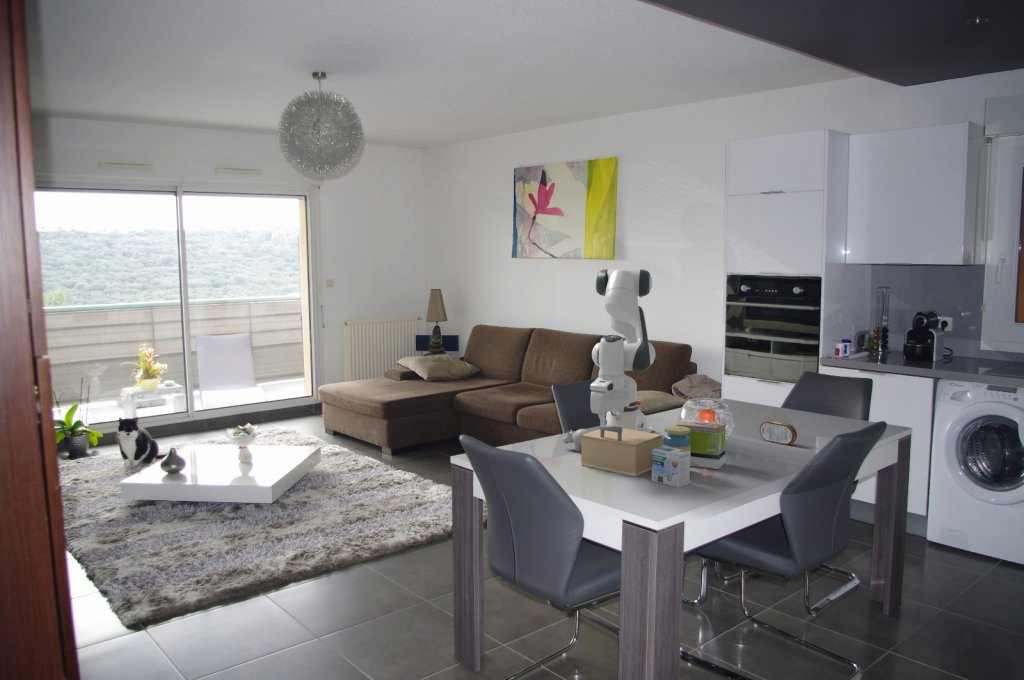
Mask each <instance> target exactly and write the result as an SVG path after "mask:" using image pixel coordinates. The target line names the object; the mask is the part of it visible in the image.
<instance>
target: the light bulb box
mask: <svg viewBox="0 0 1024 680" xmlns="http://www.w3.org/2000/svg"><path fill="white" fill-rule="evenodd" d="M690 473H691V466H690V451H686V450H681V449H677V448H672V447H667V446H664V445H662V446H661V447H658V448H655V449H652V469H651V481H653V482H655V483H660V484H663V485H667V486H670V487H675V488H681V487H682V486H685V485H688V484H690V482H691V481H690V477H691V476H690Z"/></svg>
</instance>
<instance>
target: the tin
mask: <svg viewBox="0 0 1024 680" xmlns="http://www.w3.org/2000/svg"><path fill="white" fill-rule="evenodd" d="M759 434H760V437H761V438H762V439H763V440H764V441H765V442H766V441H767V442H769V443H774V444H778V445H779V444H780V445H785V446H786V445H787V446H789V445H792V444H794V443H795V442H796V440H797V438H798V433H797V430H796V428H795V427H794V426H793V425H792V424H791V423H787V422H781V421H777V420H773V419H772V420H771V419H769V420H765V421H763V422H762V423H761V424H760V426H759Z"/></svg>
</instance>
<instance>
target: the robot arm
mask: <svg viewBox="0 0 1024 680" xmlns="http://www.w3.org/2000/svg"><path fill="white" fill-rule="evenodd" d="M594 287H595V290H596V293H597V294H598V295H599V296H602V297H604V308H605V310H606V312H607V314H608V315H610V319H609V320H610V322H609V323H610V327H611V329H612V330H613V331H614V332H615V333H617V334H619V335H617V334H607V335H604V336H602V337H601V338H600V342H597V343H596V344H595V345H594V346H593V348H592V350H591V358H592V361H593V362H594V364H595V365H596V366H597V367H599V371H598V377H597V378H596V379H595V380H594V381H592V383H591V384H590V385H589V387H590V388H589V390H591V392H590V411H591V413H592V414H596V415H597V414H598V419H599V420H600V421H599V422H600V423H599V424H600V425H611V426H617V427H622V428H624V429H630V430H636V431H642V432H648V433H652V432H653V431H654V428H653V427H651V426H648V417H647V416H646V415H645V414H644V413H643V412H642V411H641V410H640V408H639V406H642V403H643V401H642V400H639V399H637V391H638V389H637V388H638V387H637V382H636V380H635V379H633V378H632V377H631V376H630V375H626V374H625V372H629V371H630V372H632V371H633V372H636V373H637V372H638V373H643V372H645V371H647V370H648V369H649V368H650V367H651V365H653V363H654V361H655V359H656V349H655V347H654V346H653V344H652V343H651V342H649V337H648V330H647V324H646V318H645V312H644V309H643V308H642V306H639V299H638V297H639V298H643V297H645V296H646V297H647V296H648V295H649V294H650V291H651V290H652V287H653V279H652V276H651V273H650V272H649V270H645V269H642V268H641V269H635V268H615V269H614V268H612V269H608V268H606V269H601V270H599V271H598V272H597V273H596V276H595V278H594ZM622 336H623V337H624V338H625V340H624V339H623V337H622Z"/></svg>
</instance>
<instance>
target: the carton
mask: <svg viewBox="0 0 1024 680" xmlns="http://www.w3.org/2000/svg"><path fill="white" fill-rule="evenodd" d="M661 446H663V436H662V437H661V438H658V439H656V440H653V441H650V442H648V443H645V444H642V445H640V446H637V447H633V446H627V445H621V444H616V443H610V442H605V441H599V440H594V439H588V438H583V437H581V452H580V455H581V456H580V461H581V462H580V465H581V466H583V465H584V467H589V468H592V467H594V468H593V469H597V468H598V469H597V470H601V471H607V472H612V473H616V474H621V475H626V476H631V477H638V476H640V475H642V474H644V473H647V472H649V471H652V449H655V448H658V447H661Z"/></svg>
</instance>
